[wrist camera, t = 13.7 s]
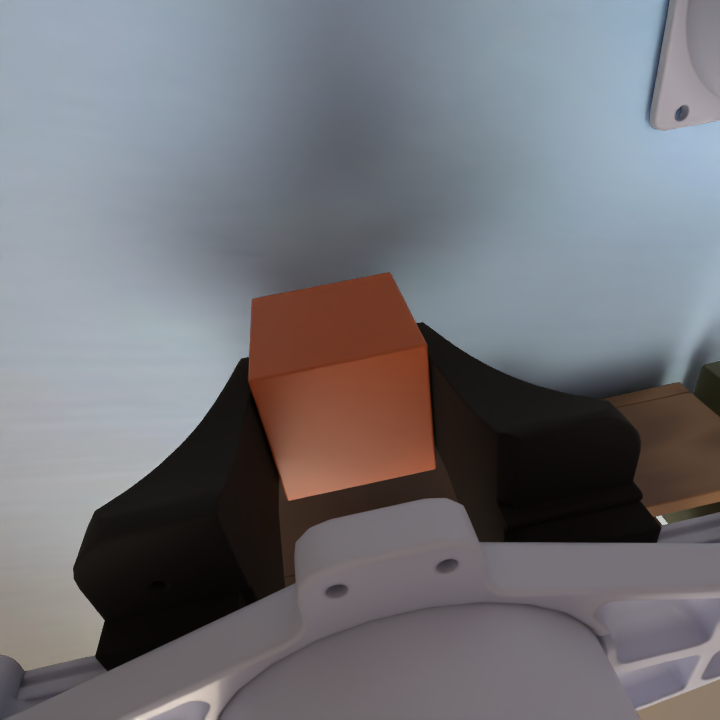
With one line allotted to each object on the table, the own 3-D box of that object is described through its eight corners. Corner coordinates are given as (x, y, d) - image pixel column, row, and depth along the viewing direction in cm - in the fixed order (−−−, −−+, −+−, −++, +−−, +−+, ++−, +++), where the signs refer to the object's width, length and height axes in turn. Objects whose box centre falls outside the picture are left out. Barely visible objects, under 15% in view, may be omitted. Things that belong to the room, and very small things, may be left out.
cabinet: (524, 380, 25) (626, 517, 18) (514, 536, 32) (585, 678, 25) (244, 439, 24) (236, 607, 17) (297, 586, 31) (308, 747, 24)
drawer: (816, 339, 25) (971, 427, 20) (748, 489, 32) (852, 587, 26) (472, 413, 24) (534, 526, 19) (474, 552, 30) (521, 668, 25)
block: (390, 271, 15) (427, 343, 12) (402, 381, 17) (436, 469, 14) (250, 297, 15) (247, 380, 11) (282, 406, 17) (287, 502, 14)
